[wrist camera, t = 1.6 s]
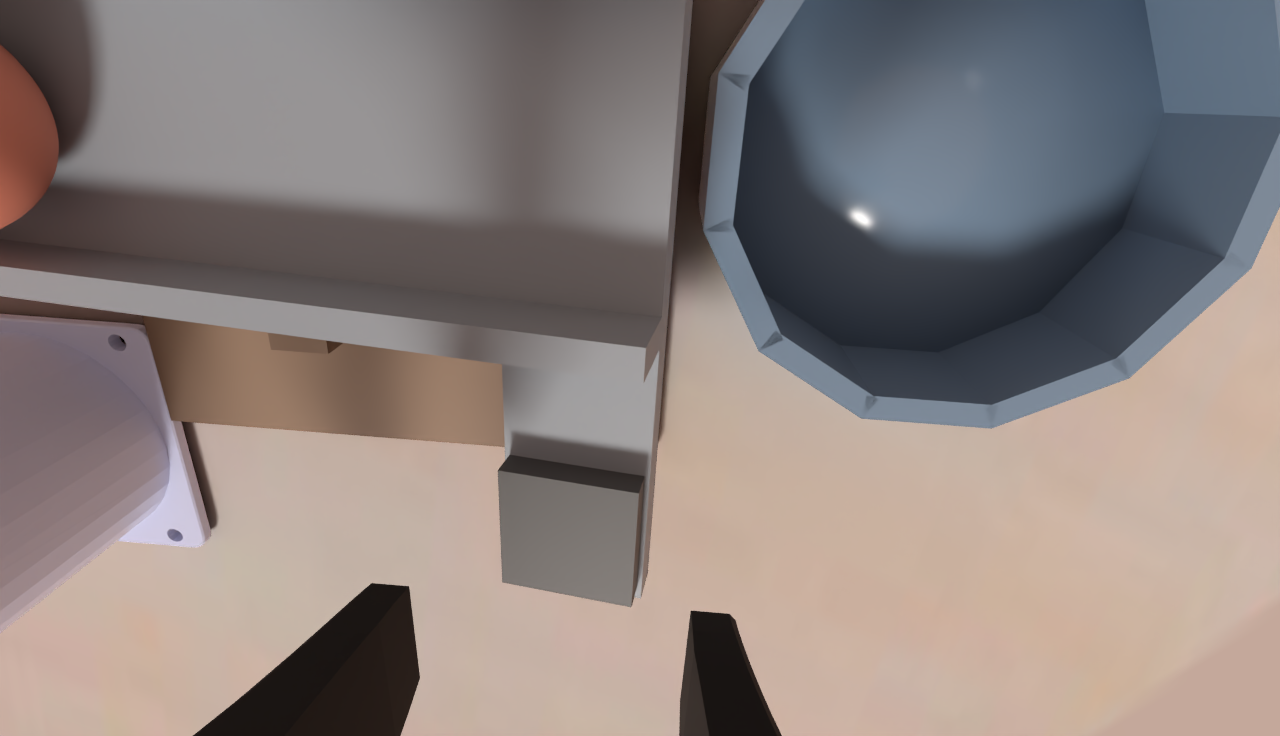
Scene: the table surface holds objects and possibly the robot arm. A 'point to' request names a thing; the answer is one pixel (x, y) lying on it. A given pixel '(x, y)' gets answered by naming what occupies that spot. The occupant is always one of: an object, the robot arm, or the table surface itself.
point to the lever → (392, 212)
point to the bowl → (987, 190)
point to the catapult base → (323, 385)
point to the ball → (23, 141)
